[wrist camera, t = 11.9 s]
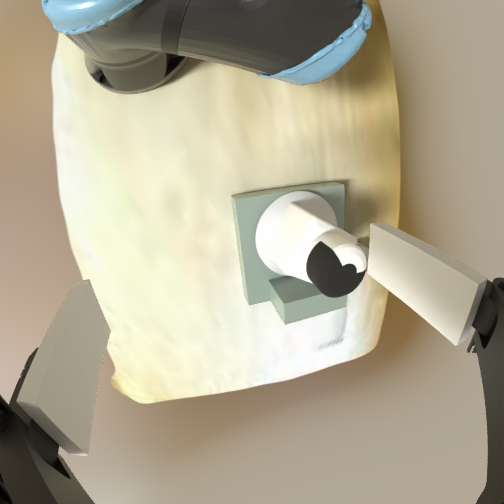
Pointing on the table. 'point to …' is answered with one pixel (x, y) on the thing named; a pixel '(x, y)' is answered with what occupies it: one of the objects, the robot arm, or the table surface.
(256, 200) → the scale
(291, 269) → the container
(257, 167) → the table surface
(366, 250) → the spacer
